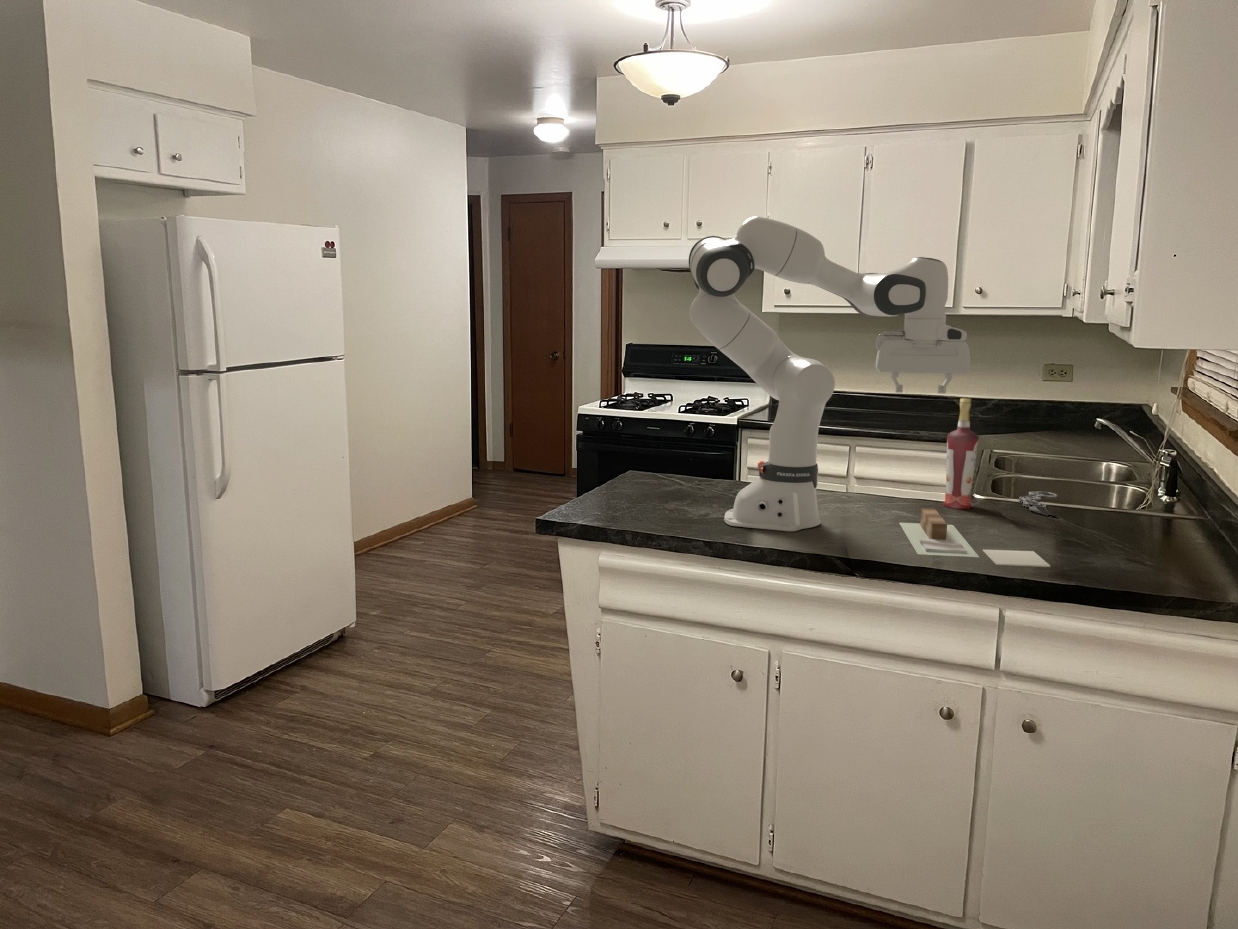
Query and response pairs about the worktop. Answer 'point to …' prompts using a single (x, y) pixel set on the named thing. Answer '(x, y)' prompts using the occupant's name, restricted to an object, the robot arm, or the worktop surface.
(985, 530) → the worktop surface
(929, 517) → the turner
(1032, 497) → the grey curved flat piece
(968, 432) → the liquor
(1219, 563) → the worktop surface
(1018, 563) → the tile
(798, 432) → the robot arm
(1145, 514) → the worktop surface
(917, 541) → the plate
